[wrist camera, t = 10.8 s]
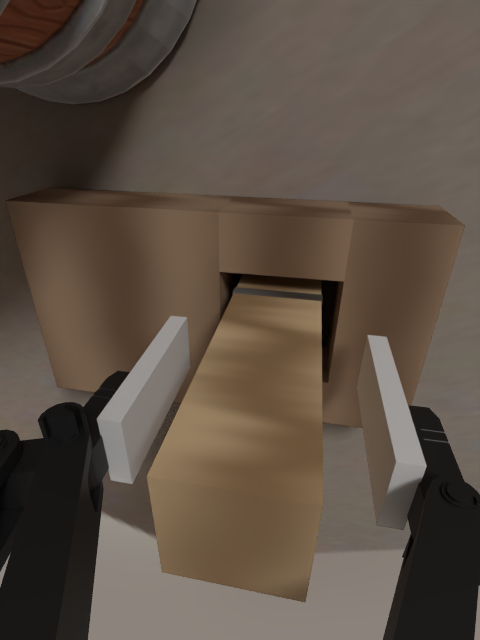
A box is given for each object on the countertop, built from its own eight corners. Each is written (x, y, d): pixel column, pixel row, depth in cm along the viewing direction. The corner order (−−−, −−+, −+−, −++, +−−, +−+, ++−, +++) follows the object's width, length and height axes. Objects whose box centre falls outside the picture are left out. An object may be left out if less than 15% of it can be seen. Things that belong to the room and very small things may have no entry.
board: (87, 355, 26) (57, 387, 23) (50, 187, 21) (4, 200, 18) (391, 390, 23) (402, 432, 20) (440, 206, 18) (465, 225, 15)
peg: (244, 328, 23) (160, 572, 11) (246, 263, 21) (144, 474, 9) (314, 335, 22) (306, 603, 10) (322, 269, 20) (326, 505, 8)
